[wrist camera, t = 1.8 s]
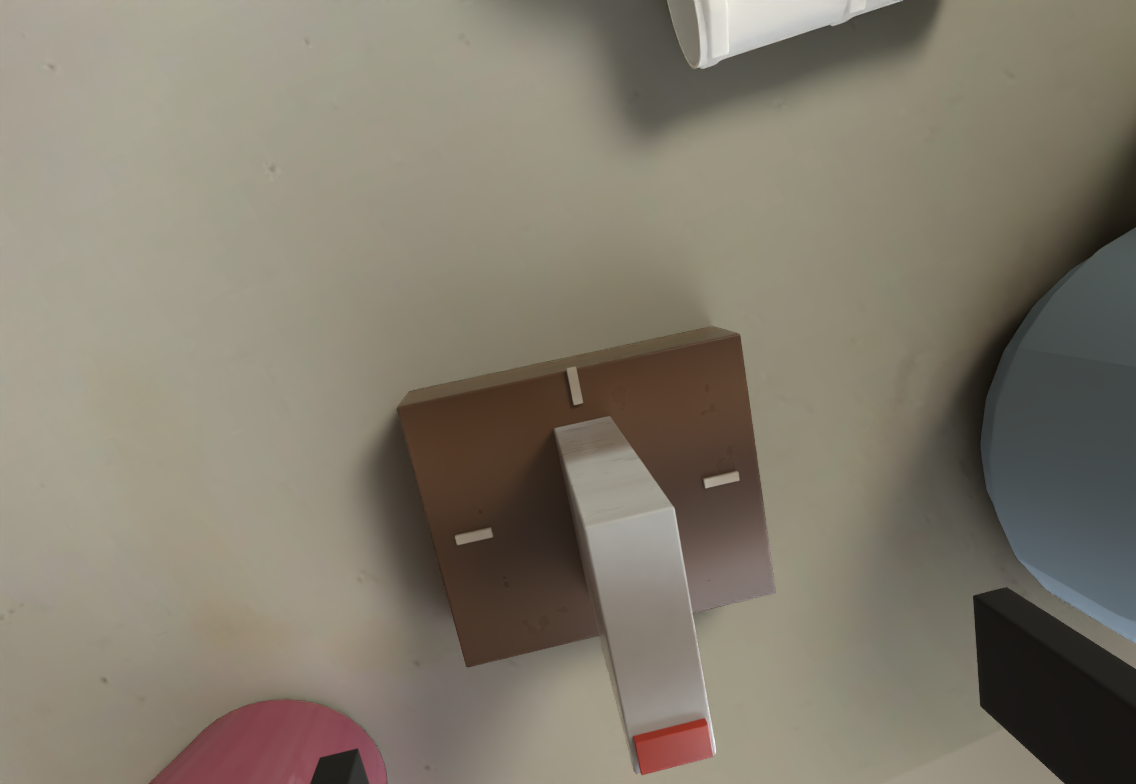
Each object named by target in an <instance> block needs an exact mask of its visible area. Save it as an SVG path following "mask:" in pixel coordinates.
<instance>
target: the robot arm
mask: <svg viewBox="0 0 1136 784" xmlns="http://www.w3.org/2000/svg"><path fill="white" fill-rule="evenodd" d="M973 601H974V616H975V631H976V647H977V662H978V677H979V693H980V706H981V707H982V708H983V709H984V710H985V711H986V712H987V713H988V714H990V715H991V716H992V717H993V718H994V719H995V720H996V721H997V722H998V723H999V724H1000V725H1002V726H1003V727H1004V728H1005V729H1006V730H1007V731H1008V732H1009V733H1010V734H1011V735H1012V736H1014V737H1015V738H1016V739H1017V740H1018V741H1019V742H1020V743H1021V744H1022V745H1023V746H1025V748H1027V749H1028V750H1029V751H1030V752H1031V753H1032V754H1033V755H1034V756H1035V757H1036V758H1038V759H1039V760H1040V761H1041V762H1042V763H1043V764H1044V765H1045V766H1046V767H1047V768H1048V769H1050V770H1051V771H1052V772H1053V773H1054V774H1055V775H1056V776H1057V777H1058V778H1059V779H1060V780H1061V781H1062V782H1064V783H1065V784H1136V669H1135V668H1133V667H1132V666H1130V665H1128V664H1127V663H1125V662H1124V661H1122V660H1121V659H1119V658H1117V657H1116V656H1114V655H1113V654H1111V653H1110V652H1108V651H1106V650H1105V649H1103V648H1102V647H1100V646H1099V645H1097V644H1095V643H1094V642H1092V641H1091V640H1089V639H1087V638H1086V637H1084V636H1083V635H1081V634H1080V633H1078V632H1076V631H1075V630H1073V629H1072V628H1070V627H1069V626H1067V625H1065V624H1064V623H1062V622H1061V621H1059V620H1058V619H1056V618H1054V617H1053V616H1051V615H1050V614H1048V613H1047V612H1045V611H1043V610H1042V609H1040V608H1039V607H1037V606H1035V605H1034V604H1032V603H1031V602H1029V601H1028V600H1026V599H1024V598H1023V597H1021V596H1020V595H1018V594H1017V593H1015V592H1013V591H1012V590H1010V589H1009V588H1007V587H1006V588H1002V589H998V590H994V591H990V592H986V593H982V594H978V595H974V596H973ZM310 784H369V781H368V778H367V774H366V771H365V768H364V765H363V762H362V759H361V756H360V753H359V750H358V748H357V749H353V750H349V751H345V752H341V753H337V754H332V755H328V756H324V757H320V758H319V761H318V764H317V766H316V769H315V772H314V774H313V777H312V780H311V782H310Z"/></svg>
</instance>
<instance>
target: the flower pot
mask: <svg viewBox="0 0 1136 784" xmlns="http://www.w3.org/2000/svg"><path fill="white" fill-rule="evenodd" d="M357 748H358V750H359V753H360V756H361V759H362V762H363V765H364V768H365V771H366V774H367V778H368V781H369V784H387V774H386V769H385V765H384V762H383V759H382V756H381V754H380V752H379V750H378V748H377V746H376V745H375V743H374V742H373V740H372V739H371V738H370V736H369V735H368V734H367V733H366V732H365V731H364V729H362V728H361V727H360V726H359V725H358V724H356V723H355V722H354V721H352V720H351V719H350V718H348V717H346V716H345V715H343V714H341V713H340V712H337V711H335V710H333V709H331V708H328V707H325V706H322V705H320V704H316V703H312V702H306V701H301V700H287V699H284V700H269V701H263V702H257V703H253V704H249V705H246V706H243V707H241V708H238V709H236V710H233V711H231V712H229V713H228V714H226V715H224V716H222V717H220V718H218V719H217V720H216V721H214V722H213V723H212V724H210V725H209V726H208V727H206V728H205V729H204V730H203V731H202V732H201V733H200V734H199V735H198V736H197V737H196V738H195V739H194V740H193V741H192V742H191V743H190V744H189V745H188V746H187V747H186V748H185V749H184V750H183V751H182V752H181V753H180V754H179V755H178V756H177V757H176V758H175V759H174V760H173V761H172V762H171V763H170V764H169V765H168V766H167V767H166V768H165V769H164V770H163V771H161V772H160V773H159V774H158V775H157V776H156V777H155V778H154V779H153V780H152V781H151V782H150V783H149V784H310V782H311V780H312V777H313V774H314V772H315V769H316V766H317V764H318V761H319V758H320V757H324V756H328V755H332V754H337V753H341V752H345V751H349V750H353V749H357Z"/></svg>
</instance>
